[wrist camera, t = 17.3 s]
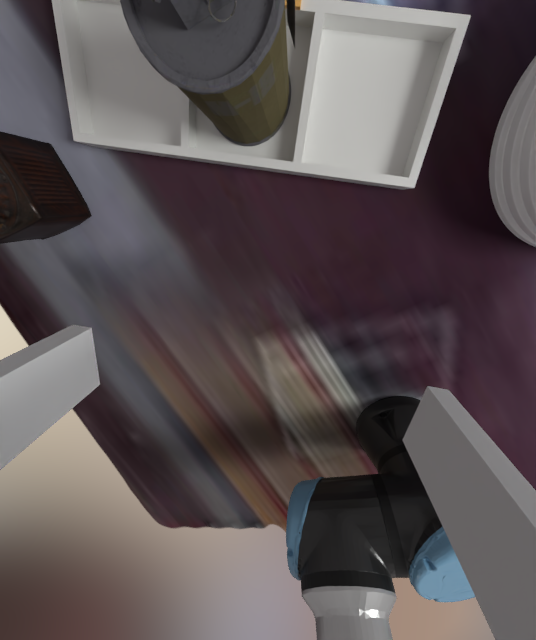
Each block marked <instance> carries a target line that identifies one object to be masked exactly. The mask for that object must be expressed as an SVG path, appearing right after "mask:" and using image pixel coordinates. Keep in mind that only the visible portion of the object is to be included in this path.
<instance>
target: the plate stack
mask: <svg viewBox="0 0 536 640" xmlns="http://www.w3.org/2000/svg"><path fill="white" fill-rule="evenodd" d="M489 185H490V192H491V197H492V201H493V204H494V207H495V209H496V211H497V213H498V215H499V217H500V219H501V220H502V222H503V223H504V225H505V226H506V227H507V228H508V229H509V230H510V231H511V232H512V233H513V234H514V235H515V236H516V237H518V238H519V239H521V240H522V241H524V242H526V243H528V244H530V245H532V246H534V247H536V56H535V57H534V59H533V60H532V62H531V63H530V64H529V66H528V67H527V69H526V70H525V72H524V73H523V75H522V76H521V78H520V80H519V81H518V83H517V85H516V86H515V88H514V90H513V92H512V94H511V95H510V97H509V99H508V101H507V104H506V106H505V108H504V110H503V113H502V115H501V117H500V120H499V123H498V126H497V129H496V132H495V136H494V139H493V143H492V148H491V154H490V162H489Z"/></svg>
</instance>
